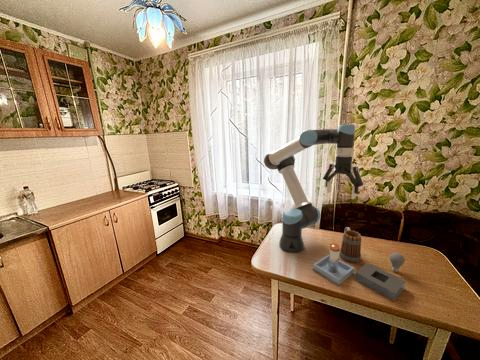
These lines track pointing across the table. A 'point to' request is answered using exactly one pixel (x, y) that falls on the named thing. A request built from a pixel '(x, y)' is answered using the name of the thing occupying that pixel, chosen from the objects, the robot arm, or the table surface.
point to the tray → (337, 277)
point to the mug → (351, 246)
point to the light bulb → (396, 261)
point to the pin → (333, 257)
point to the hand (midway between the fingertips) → (340, 195)
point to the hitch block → (380, 281)
